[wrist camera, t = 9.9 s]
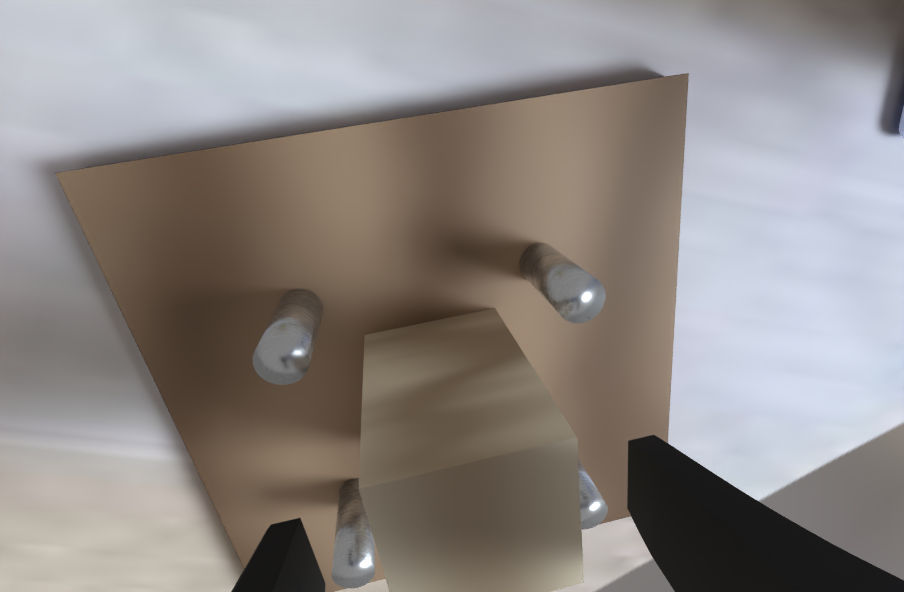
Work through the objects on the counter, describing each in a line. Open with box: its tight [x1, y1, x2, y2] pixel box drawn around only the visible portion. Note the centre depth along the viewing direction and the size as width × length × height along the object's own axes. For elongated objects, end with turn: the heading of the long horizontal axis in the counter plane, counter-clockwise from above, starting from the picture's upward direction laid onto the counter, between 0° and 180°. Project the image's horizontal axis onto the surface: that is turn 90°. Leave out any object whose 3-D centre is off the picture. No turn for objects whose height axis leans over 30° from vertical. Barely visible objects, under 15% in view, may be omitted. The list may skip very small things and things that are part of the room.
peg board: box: [55, 73, 689, 592], centre depth 13 cm, size 16×16×4 cm
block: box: [359, 308, 584, 592], centre depth 12 cm, size 4×4×6 cm
